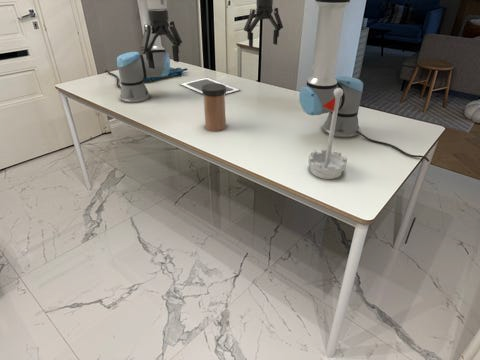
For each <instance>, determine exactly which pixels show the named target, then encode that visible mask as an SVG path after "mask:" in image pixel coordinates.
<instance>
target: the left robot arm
mask: <svg viewBox="0 0 480 360" xmlns="http://www.w3.org/2000/svg"><path fill="white" fill-rule="evenodd" d="M136 1H137V7H138V13H139V18H140V24H141V30H142V39H141V40H142V41H141V46H140V51H142V54H140V52H138V51H128V52H126V53H122V54H120V55H119V56H117V57H116V63H117V65H116V66H117V68H118V69H117V70H118V74H119V75H116V74H115V73H112V72H110V71H109V70H107V69H105V71H104V73H108V74H109V75H111V76H113V77H115V79H116V86H117V88H119V89H120V93H119V98H120V99H119V100H120V101H121V102H123V103H126V104H127V103H128V104H134V103H141V102H142V103H143V102H144V101H147V100H148V99H150V93H149V91H148V88H147V87H146V85H145V81H143V78H151V77H161V76H167V75H168V74H169V71H170V67H171V59H170V53H169V52H166V48H165V47H163V46H162V38H161V36H166V37H167V39H168V40H169V41H170V42H171V43H172V45H171V50H172V58H173V59H172V60H173V62H175V63H180V57H179V54H180V46H181V44H182V43H183V41H182V38H181V36H180V34H179V32H178V30H177V28H176V25H175V21H174V20H169V13H168V12H169V11H168V10H167V9H168V1H167V0H136ZM118 76H119V77H118ZM119 79H120V83H121V84H120V85H119Z"/></svg>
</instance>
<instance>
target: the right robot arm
mask: <svg viewBox="0 0 480 360" xmlns="http://www.w3.org/2000/svg"><path fill="white" fill-rule="evenodd" d="M273 3H274V0H256V3H255V5H256V9H254V8H250V9H249V15H248V18H247V20H246V23H245V25H244V27H243V31H245V32H247V37H246V38H247V40H248V47H249V48H254V32H253V31H254V29H255V28H256V26H257V25H258V23H259V21H261V20H268V21H269V22H270V23H271V25H272V26H273V28H274V29H273V35H272V36H273V38H272V44H273V45H275V46H277V45H278V38H279V37H280V31H281V29H283V28H284V25H283V23H282V19H281V17H280V14H279V8H278V7H275V6H274V7H273ZM350 3H351V0H315V4H316V5H317V6H318V14H317V21H316V22H317V23H316V31H315V41H314V49H313V59H312V69H311V75H310V76H309V77H308V78H306V84H305V86H303V87H302V88H301V89H300V91H299V94H298V99H299V103H300V106H301V108H302V110H303V112H304V113H305V114H307V115H308V116H321V115H324V114H328V115H327V117H326V120H325V121H324V123H323V126H322V130H323V132H324V133H325V134H326V135H329V134H330V127H331V121H332V114H333V111H332V110H330V109H328V108H326V107H323V105H325V104H326V103H328V102H329V101H331V100H332V99H334V98H335V96H334V90H335V89H336V88H341V89H342V90H343V95H342V96H341V97H340V101H339V107H338V113H337V120H336V126H335V132H334V137H335V138H339V139H341V138H342V139H349V138H354V137H356V136H357V135H360V136H362V137H363V138H364V139H366V140H368V141H369V142H372V143H376V144H381V145H386V146H389V147H392V148H394V149H396V150H397V151H399V152H400V153H402V154H404V155H407V156H408V157H411V158H422V159H424V160H426V162H430V159H429V158H428V157H427V156H425V155H420V154H419V155H415V154H411V153H408V152H405V151H404V150H402V149H401V148H400V147H398V146H396V145H394V144H391V143H388V142H384V141H379V140H375V139H372V138H369V137H368V136H366V135H365V134H364V133H361V131H360V125H359V118H358V117H359V116H358V114H359V111H360V110H359V109H360V105H361V101H362V96H363V92H364V91H363V89H364V82H363V81H362V80H361V79H359V78H356V77H353V76H346V75H336V76H335V72H336V67H337V59H338V53H339V46H340V41H341V33H342V28H343V27H342V26H343V19H344V12H345V8H346V7H347V6H348V5H349V4H350ZM272 14H273V15H272ZM416 219H417V217H414V218H413V219H412V222H411V225H410V227H409V230H408V233H407V236H406V239H405V240H404V244H405V245H407V243H408V241H409V238H410V234H411V232H412V229H413V227H414V224H415V222H416Z"/></svg>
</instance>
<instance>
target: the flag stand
mask: <svg viewBox="0 0 480 360" xmlns="http://www.w3.org/2000/svg"><path fill="white" fill-rule="evenodd" d="M342 95H343V90H342V89H341V88H336V89H335V90H334V96H335V98H334V99H332V100H331V101H329V102H328V103H326V104H325V105H323V107H326V108H328V109H330V110H332V111H333V114H332V121H331V127H330V134H328V141H327V147H326V148H321V149H320V151H317V150H315V149H314V150H312V151H311V152H310V155H308V162H307V163H308V165H309V166H310V167H309V169H310V173H311V174H313V176H315V177H318V178H321V179H325V180H332V179H337V178H339V177H341V176H342V174H343V171H344V170H345V169H346V168H347V164H348V158H347V156H346V155H342V152H340V151H338V150H334V151H332V149H333V143H334V132H335V126H336V120H337V113H338V107H339V101H340V97H341V96H342Z"/></svg>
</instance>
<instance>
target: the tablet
mask: <svg viewBox="0 0 480 360" xmlns="http://www.w3.org/2000/svg"><path fill="white" fill-rule="evenodd" d="M213 83H217V84H223V85H225V86H226V93H225V96H226V95H229V94H232V93H236V92H240V91H241V90H240V89H238V88H237V87H233V86H230V85H228V84H226V83H222V82H220V81H217V80H214V79H212V78H210V77H204V78H200V79H195V80H191V81H187V82H183V83H180V84H179V85H180V86H183V87H185V88H187V89H189V90H192V91H194V92H196V93H198V94H201V95H203V96H204V94H203V93H202V87H203V86H204V85H206V84H213Z"/></svg>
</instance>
